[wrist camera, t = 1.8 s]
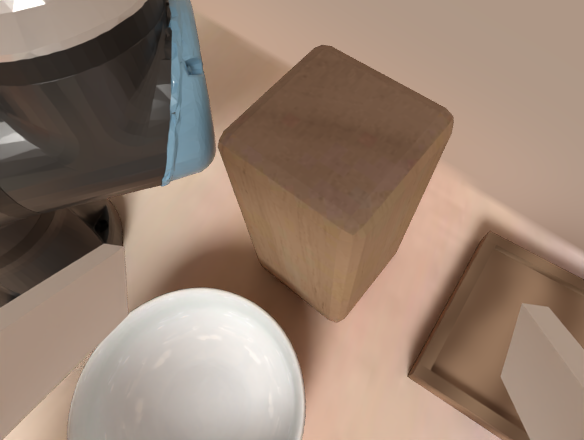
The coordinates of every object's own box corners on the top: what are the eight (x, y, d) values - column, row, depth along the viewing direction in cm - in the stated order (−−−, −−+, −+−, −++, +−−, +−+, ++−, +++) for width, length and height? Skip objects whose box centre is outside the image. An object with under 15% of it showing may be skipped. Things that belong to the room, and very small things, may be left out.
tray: (407, 376, 35) (413, 373, 33) (481, 240, 40) (489, 230, 38) (589, 497, 31) (608, 503, 29) (646, 328, 36) (666, 322, 34)
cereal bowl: (270, 566, 30) (258, 604, 24) (73, 485, 33) (16, 500, 27) (330, 337, 37) (333, 320, 31) (163, 287, 40) (134, 261, 34)
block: (319, 193, 44) (321, 32, 26) (400, 249, 40) (466, 110, 22) (255, 263, 41) (206, 136, 23) (337, 329, 37) (355, 243, 19)
